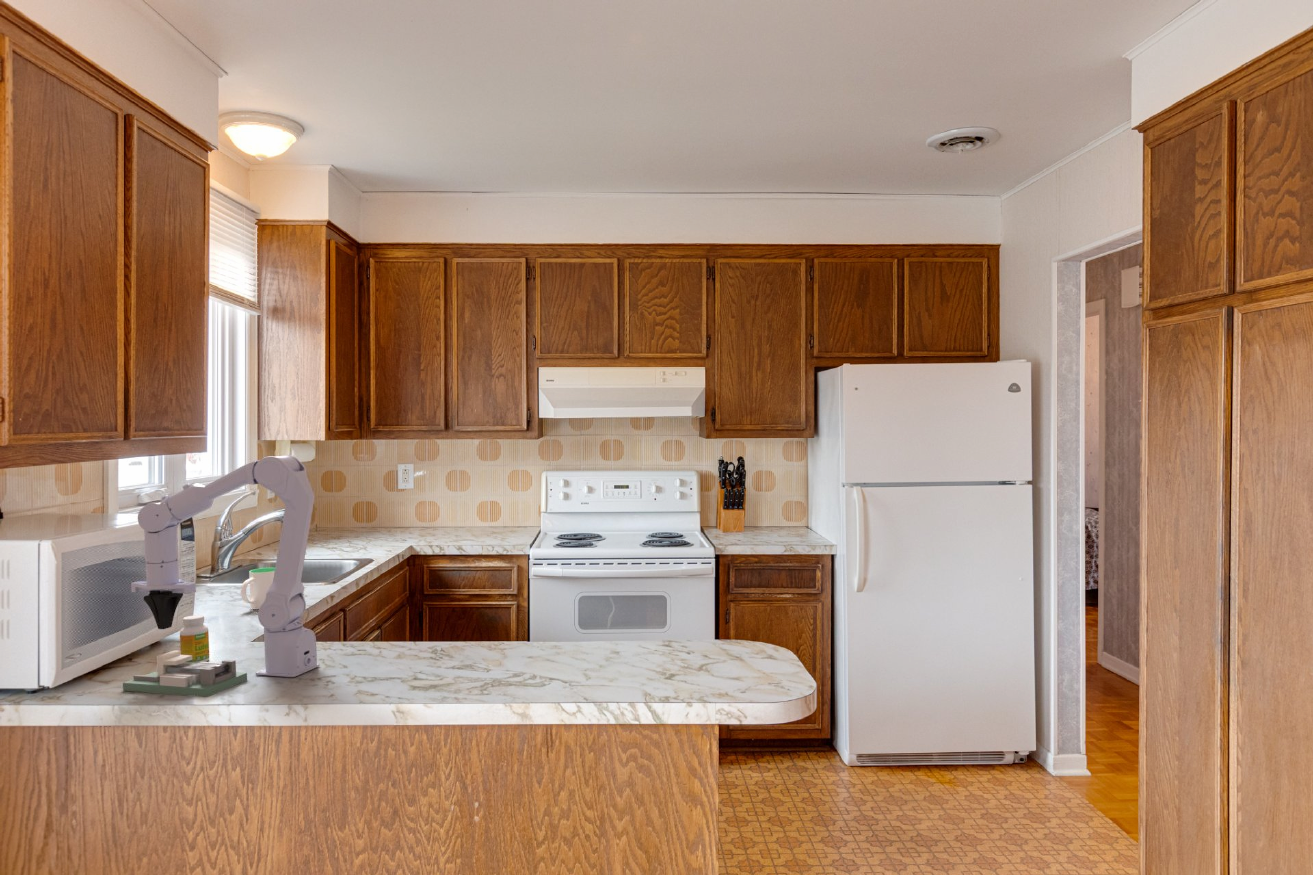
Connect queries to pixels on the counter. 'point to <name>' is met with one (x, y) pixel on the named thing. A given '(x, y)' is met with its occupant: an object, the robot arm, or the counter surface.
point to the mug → (258, 586)
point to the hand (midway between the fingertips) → (164, 628)
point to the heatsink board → (188, 681)
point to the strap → (197, 668)
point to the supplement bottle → (195, 639)
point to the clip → (170, 661)
